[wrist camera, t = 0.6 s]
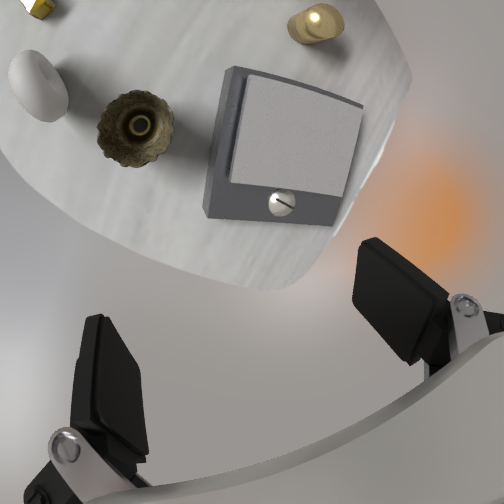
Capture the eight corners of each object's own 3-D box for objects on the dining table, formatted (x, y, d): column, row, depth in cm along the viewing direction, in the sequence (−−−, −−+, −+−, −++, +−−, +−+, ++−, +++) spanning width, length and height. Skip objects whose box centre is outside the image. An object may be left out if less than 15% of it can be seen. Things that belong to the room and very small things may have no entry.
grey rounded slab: (83, 107, 25) (55, 108, 17) (61, 125, 25) (28, 134, 17) (50, 51, 19) (16, 35, 11) (29, 69, 19) (-10, 61, 11)
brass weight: (290, 10, 26) (312, -3, 21) (321, 22, 27) (346, 13, 22) (284, 38, 28) (306, 28, 23) (316, 49, 29) (341, 43, 25)
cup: (183, 116, 30) (190, 117, 23) (147, 166, 31) (144, 182, 25) (135, 84, 26) (127, 76, 19) (99, 135, 27) (82, 143, 21)
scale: (225, 70, 28) (235, 65, 24) (346, 103, 35) (365, 105, 31) (202, 207, 36) (208, 219, 32) (318, 216, 42) (334, 227, 39)
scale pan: (248, 75, 25) (251, 74, 24) (358, 109, 30) (363, 109, 30) (228, 180, 30) (230, 182, 29) (337, 194, 36) (342, 196, 35)
